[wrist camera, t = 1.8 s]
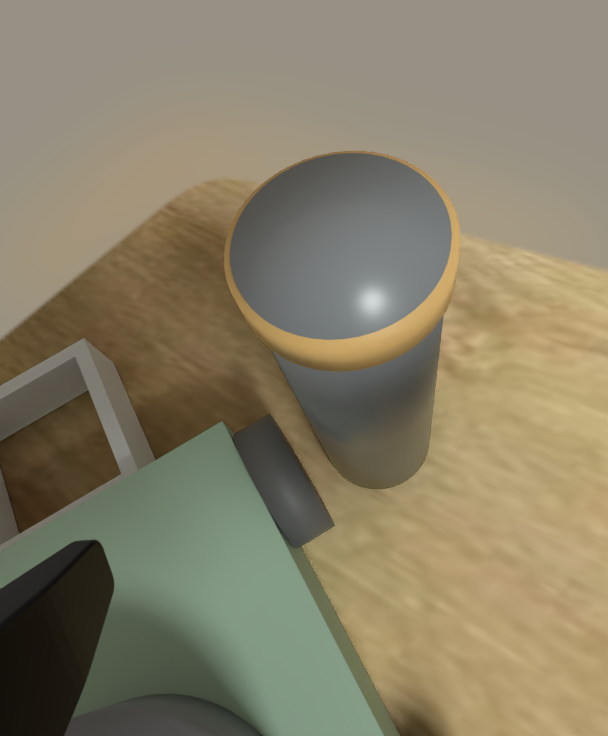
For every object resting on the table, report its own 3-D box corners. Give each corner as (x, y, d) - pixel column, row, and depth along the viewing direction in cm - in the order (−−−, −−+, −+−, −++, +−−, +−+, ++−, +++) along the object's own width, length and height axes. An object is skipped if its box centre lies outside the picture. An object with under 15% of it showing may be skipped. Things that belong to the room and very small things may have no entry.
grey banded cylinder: (446, 480, 20) (493, 311, 9) (331, 503, 20) (234, 370, 9) (417, 375, 22) (425, 123, 10) (313, 398, 22) (212, 178, 11)
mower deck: (603, 995, 14) (743, 1273, 8) (15, 1403, 13) (-306, 2052, 7) (212, 306, 25) (151, 212, 19) (-126, 500, 24) (-299, 464, 18)
